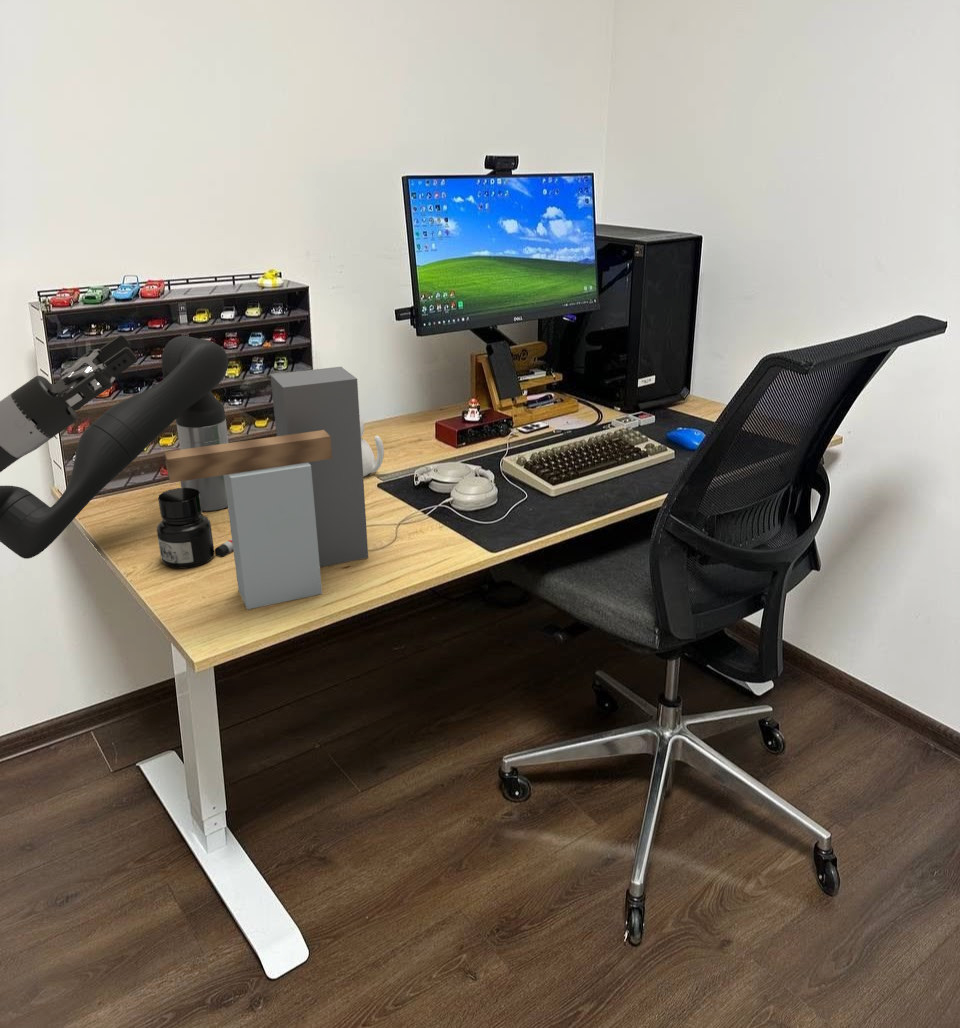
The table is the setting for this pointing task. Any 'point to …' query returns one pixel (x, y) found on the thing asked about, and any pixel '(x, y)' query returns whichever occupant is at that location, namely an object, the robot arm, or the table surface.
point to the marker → (224, 548)
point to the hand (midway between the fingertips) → (130, 346)
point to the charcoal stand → (339, 480)
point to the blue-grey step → (274, 534)
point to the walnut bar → (247, 455)
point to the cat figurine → (370, 453)
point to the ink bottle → (183, 529)
